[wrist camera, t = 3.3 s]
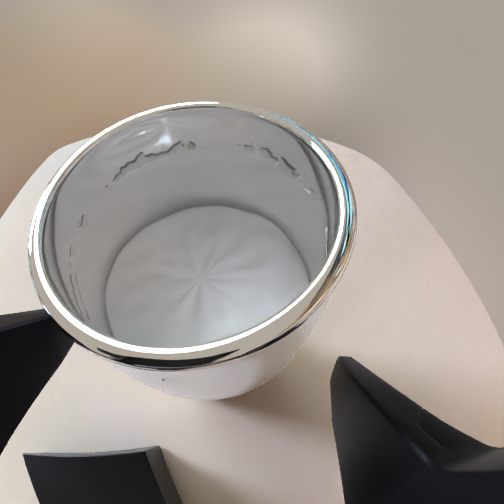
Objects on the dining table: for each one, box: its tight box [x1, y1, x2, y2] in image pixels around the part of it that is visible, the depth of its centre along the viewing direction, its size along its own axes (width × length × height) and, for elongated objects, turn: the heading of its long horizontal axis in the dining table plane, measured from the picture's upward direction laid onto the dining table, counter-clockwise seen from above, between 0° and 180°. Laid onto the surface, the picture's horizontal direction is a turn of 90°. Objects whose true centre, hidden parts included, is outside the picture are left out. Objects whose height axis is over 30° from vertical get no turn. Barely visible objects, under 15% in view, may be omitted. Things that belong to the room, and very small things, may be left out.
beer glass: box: [28, 101, 357, 400], centre depth 11 cm, size 7×7×15 cm
